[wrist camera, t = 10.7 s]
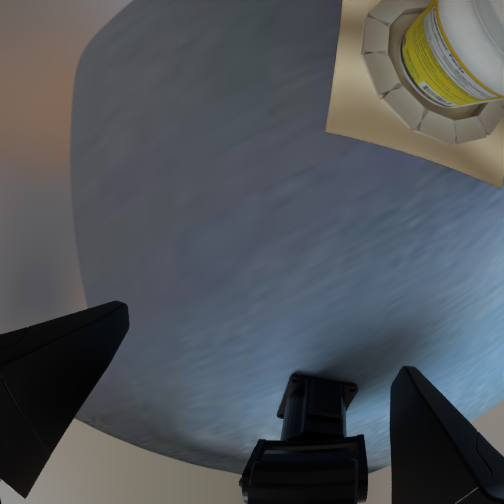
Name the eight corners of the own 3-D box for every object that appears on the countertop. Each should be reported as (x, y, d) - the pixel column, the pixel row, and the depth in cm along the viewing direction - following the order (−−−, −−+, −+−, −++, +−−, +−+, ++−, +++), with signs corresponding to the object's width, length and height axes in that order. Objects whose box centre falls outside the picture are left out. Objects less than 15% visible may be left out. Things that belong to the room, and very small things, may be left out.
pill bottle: (460, 30, 12) (546, -23, 2) (481, 109, 14) (592, 104, 4) (384, 24, 13) (441, -65, 3) (407, 109, 15) (506, 83, 5)
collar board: (495, 186, 16) (509, 191, 14) (324, 131, 18) (326, 130, 16) (505, 30, 11) (518, 25, 9) (345, -34, 12) (347, -47, 11)
